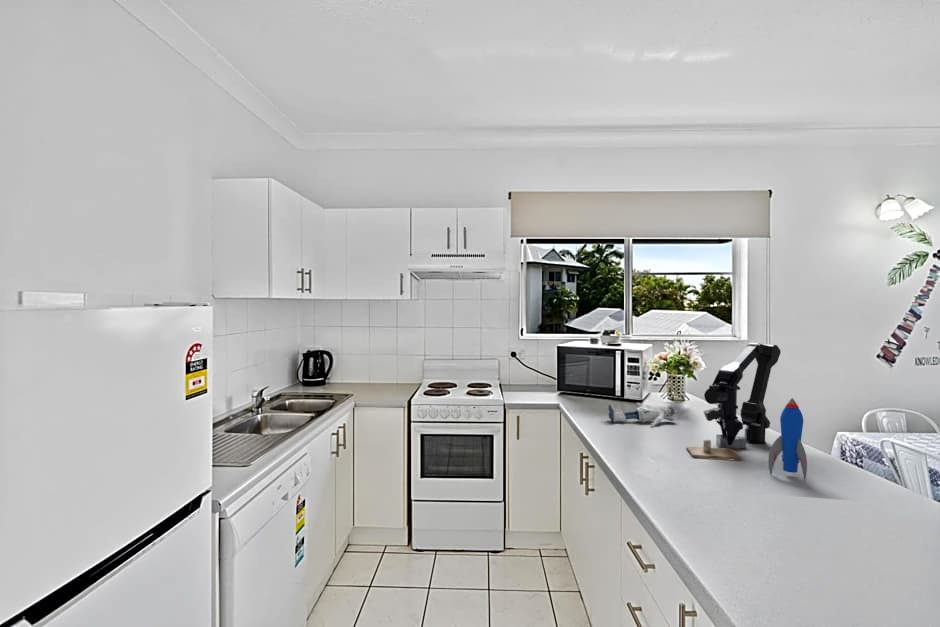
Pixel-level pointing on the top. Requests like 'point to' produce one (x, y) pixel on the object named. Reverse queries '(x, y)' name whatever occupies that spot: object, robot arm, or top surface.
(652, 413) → the toy
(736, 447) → the link
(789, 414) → the toy rocket
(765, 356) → the robot arm
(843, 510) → the top surface
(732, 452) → the board
